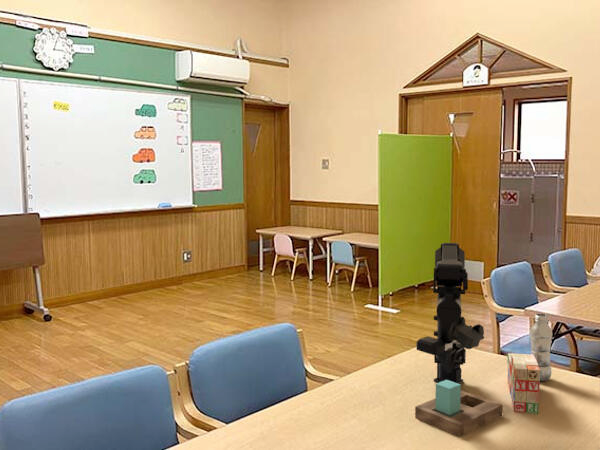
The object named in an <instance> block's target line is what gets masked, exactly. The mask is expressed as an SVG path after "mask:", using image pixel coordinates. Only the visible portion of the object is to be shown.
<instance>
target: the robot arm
mask: <svg viewBox="0 0 600 450" xmlns="http://www.w3.org/2000/svg"><path fill="white" fill-rule="evenodd" d="M465 252H466V251H464V249H462V248H460V244H459V243H457V242H443V243H440V247H438V248H437V249H436V250H435V251H434V268H433V289H432V290H433V292H432V293H433V294H437V302H436V315H433V320H434V321H435V322H437V323H436V325H437V326H436V327H437V328H436V329H437V330H435V331H433V336H434V337H431V336H428V335H427V336H425V337H421V338H419V339H418V340H417V341H416V344H415V345H416V347H415V348H416V350H417V351H419V352H422V353H426V354H428V355H432V356H434V360H433V361H434V364H437V365H436V377H435V378H433V381H434V382H436V383H439V382H442V381H444V380H449V381H452V382H455V383H458V384H461V383H463V382H464V379H462V368H461V366H463V365H465V364H466V355H467V354H466V352H467V350H471V349H473V348H475V347H476V348H477V347H479V345H480V342H481V341H483V340H484V339H485V336H484V334H485V331H484V330H485V329H484V326H483V325H482V324H479V323H478V324H475V325H474V326H472V325H467V324H466V318H465V316H462V295H466V291H468V288H469V280H468V279H469V278H468V276H469V275H468V274H469V273H468V272H467V269H466V268H465V265H466V264H465V263H466V257H465V256H466V253H465ZM435 337H436V338H435Z"/></svg>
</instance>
